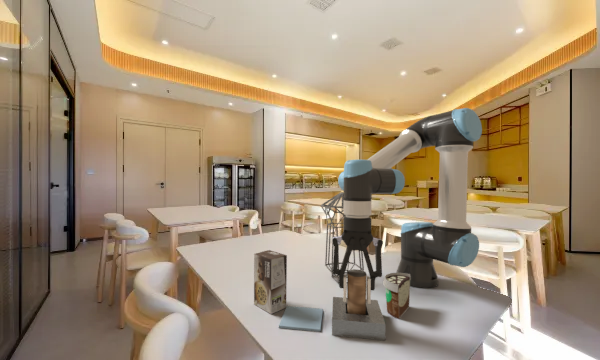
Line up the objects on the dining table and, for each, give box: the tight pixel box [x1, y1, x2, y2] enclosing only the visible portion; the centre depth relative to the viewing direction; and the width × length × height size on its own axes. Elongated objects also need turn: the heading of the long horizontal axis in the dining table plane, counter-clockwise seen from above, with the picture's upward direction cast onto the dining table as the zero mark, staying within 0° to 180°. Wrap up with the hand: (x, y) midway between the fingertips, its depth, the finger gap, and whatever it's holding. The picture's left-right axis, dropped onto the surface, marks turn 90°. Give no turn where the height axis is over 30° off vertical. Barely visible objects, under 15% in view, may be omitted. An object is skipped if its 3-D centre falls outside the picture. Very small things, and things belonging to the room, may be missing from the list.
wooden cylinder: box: [346, 268, 367, 315], centre depth 70 cm, size 5×5×14 cm
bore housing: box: [331, 296, 386, 341], centre depth 70 cm, size 13×13×4 cm
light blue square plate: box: [278, 305, 324, 333], centre depth 73 cm, size 11×11×1 cm
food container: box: [382, 272, 411, 320], centre depth 79 cm, size 12×6×10 cm, turn 141°
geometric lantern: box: [320, 191, 365, 284], centre depth 103 cm, size 16×16×35 cm
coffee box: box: [253, 249, 288, 315], centre depth 80 cm, size 9×6×16 cm
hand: (356, 300), depth 70 cm, fingers open, 6 cm apart
